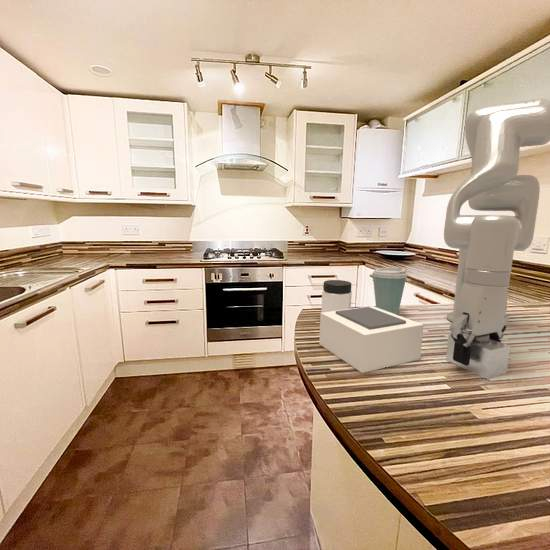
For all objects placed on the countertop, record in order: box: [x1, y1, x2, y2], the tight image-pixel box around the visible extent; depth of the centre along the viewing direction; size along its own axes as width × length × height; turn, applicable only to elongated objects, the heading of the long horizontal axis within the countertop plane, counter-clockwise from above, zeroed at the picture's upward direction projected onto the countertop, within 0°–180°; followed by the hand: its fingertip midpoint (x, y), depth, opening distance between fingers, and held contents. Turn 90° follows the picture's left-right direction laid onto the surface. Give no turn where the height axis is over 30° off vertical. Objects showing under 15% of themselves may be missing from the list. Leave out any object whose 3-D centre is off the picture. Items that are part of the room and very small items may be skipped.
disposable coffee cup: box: [372, 267, 408, 315], centre depth 101 cm, size 11×11×15 cm
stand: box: [318, 305, 424, 374], centre depth 72 cm, size 16×16×9 cm
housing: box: [445, 334, 511, 380], centre depth 65 cm, size 6×9×7 cm, turn 24°
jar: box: [321, 279, 353, 313], centre depth 93 cm, size 9×8×12 cm
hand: (475, 358), depth 65 cm, fingers open, 9 cm apart
